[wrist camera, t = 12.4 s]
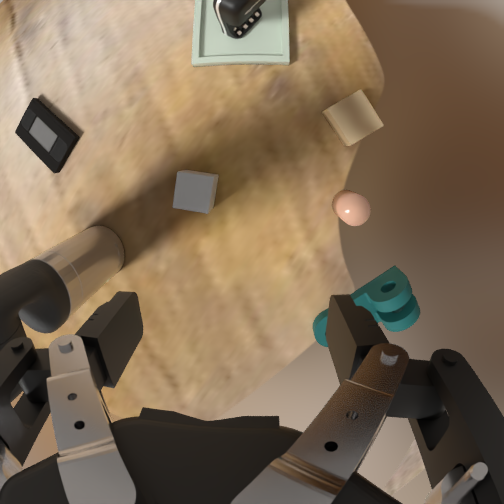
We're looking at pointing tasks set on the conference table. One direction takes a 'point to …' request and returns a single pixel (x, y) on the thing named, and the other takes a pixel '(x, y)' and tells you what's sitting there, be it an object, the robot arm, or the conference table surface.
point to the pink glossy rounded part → (351, 207)
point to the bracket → (380, 303)
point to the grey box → (195, 191)
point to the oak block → (352, 118)
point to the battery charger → (237, 15)
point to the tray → (246, 48)
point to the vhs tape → (46, 135)
